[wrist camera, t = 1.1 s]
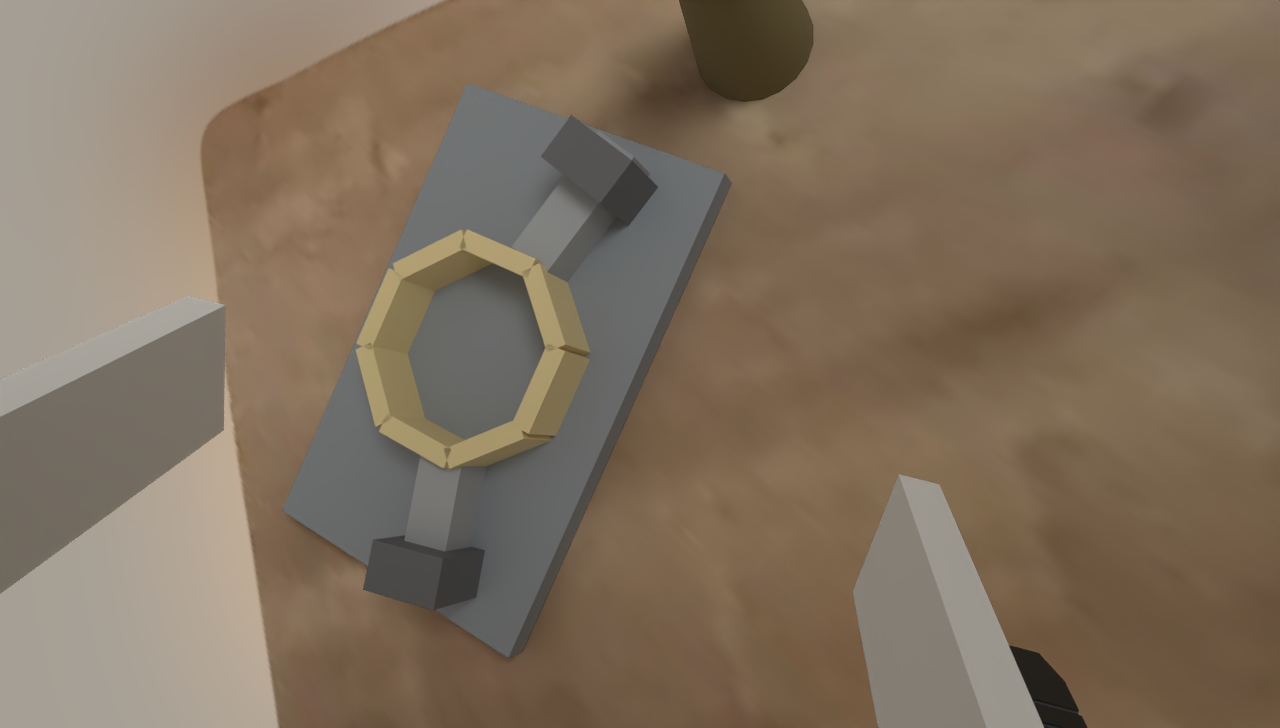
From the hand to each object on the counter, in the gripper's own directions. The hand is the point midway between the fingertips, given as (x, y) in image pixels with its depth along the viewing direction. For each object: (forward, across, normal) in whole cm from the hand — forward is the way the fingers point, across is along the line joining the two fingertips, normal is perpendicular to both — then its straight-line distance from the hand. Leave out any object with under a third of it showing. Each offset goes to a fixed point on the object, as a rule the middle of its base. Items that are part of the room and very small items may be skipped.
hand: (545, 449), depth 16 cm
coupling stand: (+26, -7, -10) cm, 29 cm away
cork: (+31, +2, +8) cm, 32 cm away
